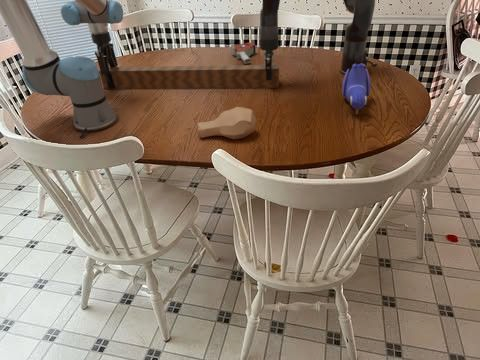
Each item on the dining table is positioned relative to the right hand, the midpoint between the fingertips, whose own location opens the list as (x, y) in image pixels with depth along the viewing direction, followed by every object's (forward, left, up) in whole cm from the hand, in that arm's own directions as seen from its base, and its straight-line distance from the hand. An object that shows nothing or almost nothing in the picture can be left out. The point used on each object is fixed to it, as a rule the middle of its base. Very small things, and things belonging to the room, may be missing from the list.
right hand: (269, 77), depth 152 cm
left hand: (+64, -29, -3) cm, 71 cm away
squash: (+29, +35, -4) cm, 46 cm away
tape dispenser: (-2, -42, -4) cm, 42 cm away
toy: (-22, +33, -4) cm, 39 cm away
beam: (+32, -14, -4) cm, 35 cm away
